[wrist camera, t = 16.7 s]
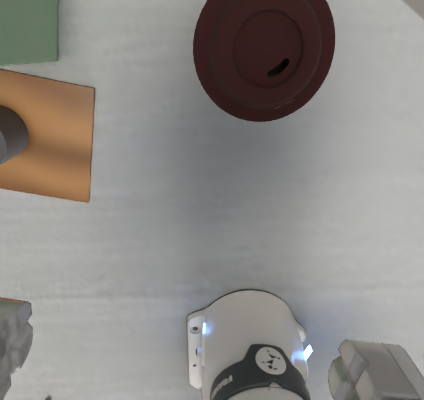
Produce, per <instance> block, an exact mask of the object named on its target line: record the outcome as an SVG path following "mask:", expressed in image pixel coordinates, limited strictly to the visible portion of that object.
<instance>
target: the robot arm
mask: <svg viewBox="0 0 424 400" xmlns="http://www.w3.org/2000/svg"><path fill="white" fill-rule="evenodd" d="M31 315H32V308H31V303H30V302H28V301H21V300H14V299H8V298H1V297H0V400H3V398H4V397H5V395H6V393H7V391H8V390H9V388H10V386H11V376H10V375H11V374H12V373H14V372H15V371H17V370H18V369H20V368H21V367H22V365H23V363H24V361H25V360H26V358H27V355H28V353H29V350H30V347H31V344H32V337H33V327H32V326H31V325H30V324H29V323H28V322H27V321H28V319H29V318H30V316H31ZM187 333H188V363H189V382H190V384H191V385H192V386H194V387H195V388H197V389H200V390H202V400H310V395H309V391H308V388H307V386H306V384H305V381H306V379H307V378H308V377H309V370H308V366H307V362H306V360H307V358H308V357H309V356H310V354H311V353H312V348H311V345H308V347H307V348H306V350H305V351H304V349H303V345H302V343H303V342H304V340H305V339H306V332H305V329H304V328H303V327H302V326H301V325H300V324H298V323H297V322H296V321H295V320H294V318H293V315H292V312H291V310H290V309H289V307H288V306H287V305H286V303H285V302H283V301H282V300H281V299H280V298H278V297H276V296H274V295H272V294H269V293H266V292H262V291H254V290H247V291H239V292H234V293H231V294H228V295H226V296H224V297H222V298H220V299H218V300H217V301H215V302H214V303H213V304H212V305H210V306H209V307H208V308H206V309H204V310H200V311H197V312H195V313H192V314H190V315H189V316H188V318H187ZM338 351H339V353H340V355H341V356H339V357H338V358H336V359H335V360H333V361H332V363H331V366H330V368H329V375H328V382H329V388H330V391H331V394H332V397H333V399H334V400H424V377H423V375H422V374H421V373H420V371H419V370H418V368H417V367H416V365H415V364H414V362H413V361H412V359H411V358H410V357H409V355H408V354H407V352H406V351H405V349H404V348H402V347H401V346H400V345H394V344H384V343H375V342H365V341H356V340H347V339H345V340H344V341H343V342H341V344H340V346H339V348H338Z"/></svg>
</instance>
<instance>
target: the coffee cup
mask: <svg viewBox="0 0 424 400" xmlns="http://www.w3.org/2000/svg"><path fill="white" fill-rule="evenodd" d="M334 48H335V27H334V22H333V17H332V14H331V10H330V8H329V5H328V3H327V2H326V0H207V2H206V4H205V6H204V7H203V9H202V11H201V14H200V16H199V19H198V21H197V25H196V29H195V34H194V41H193V55H194V63H195V68H196V72H197V75H198V78H199V80H200V82H201V85H202V86H203V88H204V90H205V92H206V93H207V94H208V96H209V97H210V98H211V100H212V101H213V102H214V103H215V104H216V105H217V106H219V107H220V108H221V109H222V110H224V111H225V112H227V113H229V114H230V115H232V116H235V117H237V118H240V119H243V120H247V121H254V122H265V121H272V120H277V119H280V118H283V117H285V116H287V115H289V114H291V113H293V112H295V111H296V110H298V109H300V108H301V107H302V106H304V105H305V104H306V103H307V102H308V101H309V100H310V99H311V98H312V97H313V96H314V95H315V93H316V92H317V91H318V90H319V88H320V87H321V85H322V83H323V82H324V80H325V78H326V76H327V74H328V71H329V69H330V66H331V63H332V59H333V54H334Z"/></svg>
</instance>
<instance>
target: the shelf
mask: <svg viewBox="0 0 424 400" xmlns="http://www.w3.org/2000/svg"><path fill="white" fill-rule="evenodd" d="M57 60H58V0H0V66H5V65H16V64H28V63H39V62H50V61H57Z"/></svg>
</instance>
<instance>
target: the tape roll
mask: <svg viewBox="0 0 424 400" xmlns="http://www.w3.org/2000/svg"><path fill="white" fill-rule="evenodd" d="M28 140H29V134H28V129H27V127H26V125H25V123H24V121H23V120H22V118H21V117H20V116H19V115H18V114H17V113H16V112H14V111H13V110H11V109H9V108H7V107H5V106H2V105H0V165H1V164H3V163H5V162H7V161H8V160H10V159H12V158H14V157H15V156H17V155H19V154H20V153H22V152H23V151H24V150H25V148H26V147H27V144H28Z"/></svg>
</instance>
